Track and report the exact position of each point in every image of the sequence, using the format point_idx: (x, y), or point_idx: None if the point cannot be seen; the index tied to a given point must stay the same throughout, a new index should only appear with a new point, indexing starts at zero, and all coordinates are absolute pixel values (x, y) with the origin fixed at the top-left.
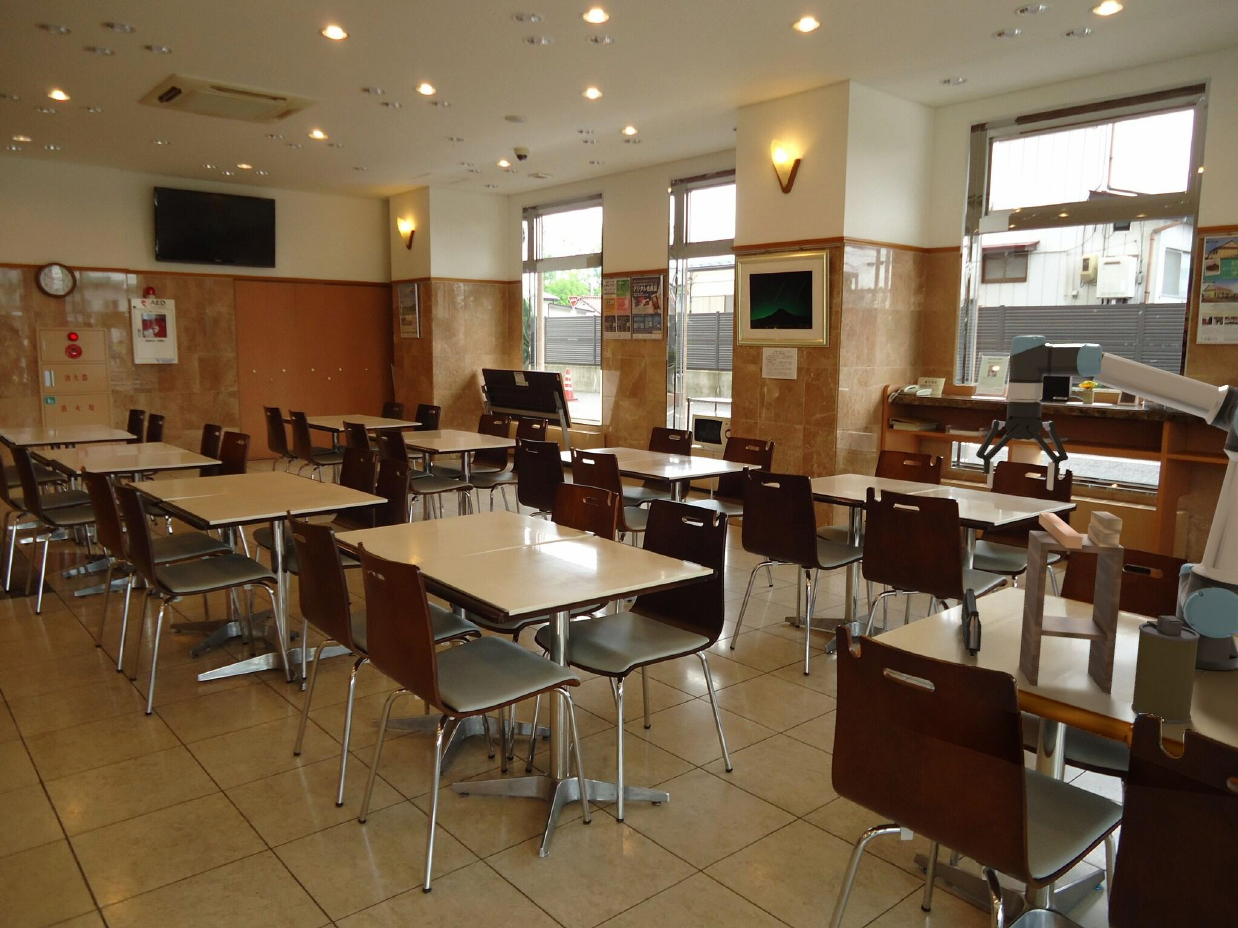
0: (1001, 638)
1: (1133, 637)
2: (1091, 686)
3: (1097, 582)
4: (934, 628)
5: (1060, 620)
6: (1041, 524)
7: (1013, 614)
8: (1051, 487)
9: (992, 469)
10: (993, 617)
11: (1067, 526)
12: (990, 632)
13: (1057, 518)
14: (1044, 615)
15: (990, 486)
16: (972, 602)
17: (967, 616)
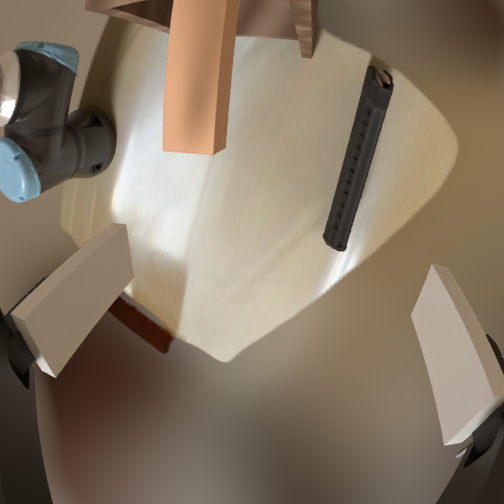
0: (301, 174)
1: (131, 207)
2: None
3: (164, 12)
4: (385, 210)
5: (254, 13)
6: (228, 98)
7: (250, 281)
8: (110, 229)
9: (477, 346)
10: (282, 267)
11: None
12: (309, 200)
13: (178, 28)
14: (275, 35)
15: (444, 270)
16: (353, 192)
17: (380, 129)
